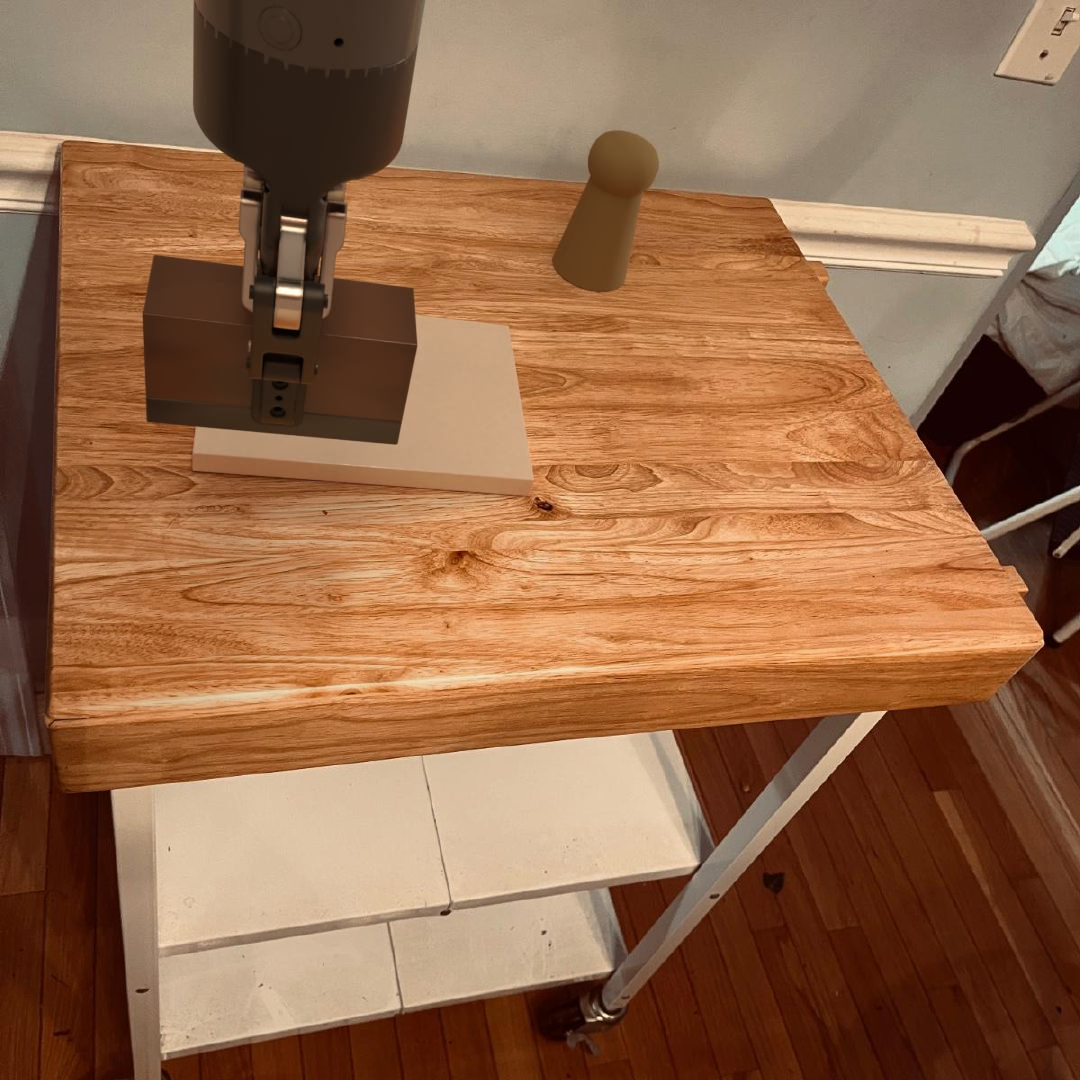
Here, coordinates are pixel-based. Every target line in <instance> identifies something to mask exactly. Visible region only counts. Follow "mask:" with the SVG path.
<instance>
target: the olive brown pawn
mask: <svg viewBox="0 0 1080 1080" xmlns="http://www.w3.org/2000/svg"><path fill="white" fill-rule="evenodd" d="M659 168H660V160H659V155H658V151H657V149H656V148H655V146H654V145H653V144H652V143H651V142H650V141H648V140H647V139H646V138H644V137H643V136H641V135H639V134H637V133H635V132H631V131H626V130H620V129H619V130H617V129H614V130H609V131H605V132H603V133H602V134H600V135H599V136H598V137H597V138H596V139H595V140H594V141H593V143H592V145H591V147H590V149H589V152H588V156H587V169H588V173H589V175H590V176H589V177H588V180H587V182H586V185H585V186H584V188H583V191H582V193H581V195H580V197H579V199H578V202H577V204H576V206H575V208H574V210H573V212H572V214H571V217H570V219H569V221H568V223H567V225H566V228H565V230H564V232H563V233H562V236H561V239H560V241H559V243H558V245H557V247H556V249H555V252H554V254H553V256H552V264H553V265H552V266H553V268H554V269H555V270H556V272H557V274H558V275H560V276H561V277H562V278H563V279H564V280H565V281H567V282H568V283H570V284H572V285H574V286H575V287H578V288H581V289H584V290H586V291H594V292H598V293H599V292H611V291H614V290H617V289H619V288H621V286H623V285H624V283H625V281H626V277H627V272H628V267H629V263H630V259H631V254H632V253H631V252H632V248H633V243H634V238H635V233H636V228H637V223H638V219H639V212H640V209H641V203H642V198H643V193H645V192H646V191H647V190H649V189H650V188H651V186H652V185H653V183H654V182H655V179H656V177H657V174H658V172H659Z"/></svg>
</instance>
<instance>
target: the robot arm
mask: <svg viewBox="0 0 1080 1080" xmlns="http://www.w3.org/2000/svg"><path fill="white" fill-rule="evenodd" d="M425 5H426V0H193V13H192V15H193V18H192V19H193V20H192V21H193V23H192V24H193V25H192V26H193V30H192V31H193V33H192V36H193V38H192V40H193V41H192V42H193V45H192V46H193V47H192V49H193V51H192V60H193V61H192V65H193V66H192V76H193V77H192V109H193V114H194V118H195V120H196V123H197V125H198V127H199V129H200V130H201V132H202V133H203V135H204V136H205V137H206V139H207V140H208V141H209V142H210V143H211V144H212V145H213V146H214V147H215V148H216V149H218V150H219V151H220V152H221V153H222V154H224V155H226V156H227V157H229V158H231V160H233V161H235V162H238V163H240V164H242V165H243V174H242V175H243V177H242V179H243V180H242V186H241V187H240V194H239V195H240V196H239V212H238V213H239V214H238V233H239V235H240V237H241V238H242V239H243V242H244V248H243V265H242V266H243V283H242V303H243V305H244V306H245V307H246V308H247V309H248V310H250V311H251V312H252V334H251V340H250V339H249V344H248V352H251V356H247V362H246V369H250V378H252V379H253V387H252V403H251V418H252V420H253V421H254V422H256V423H258V424H264V425H275V426H286V427H296V426H298V425H300V424H301V423H302V421H303V413H304V404H305V395H306V386H307V384H310V385H312V384H313V377H314V376H317V370H318V363H316V357H317V351H318V344H319V337H320V331H321V324H322V318H325V317H326V316H327V315H328V314H329V313H330V309H331V300H332V290H333V281H334V278H335V270H336V261H337V254H338V253H339V252H340V251H341V250H342V249H343V247H344V245H345V238H346V231H347V230H346V229H347V228H346V227H347V218H348V202H347V201H345V198H346V189H347V183H348V182H351V181H358V180H362V179H365V178H368V177H370V176H373V175H375V174H378V173H379V172H381V171H382V170H384V169H385V168H387V167H388V166H389V165H390V164H391V163H392V162H393V161H394V160H395V158H397V156H398V154H399V152H400V151H401V148H402V146H403V141H404V136H405V129H406V123H407V118H408V110H409V104H410V98H411V93H412V86H413V81H414V73H415V68H416V61H417V55H418V49H419V44H420V43H419V42H420V35H421V29H422V24H423V23H422V22H423V18H424V12H425ZM257 268H262V269H263V270H262V274H265V275H268V276H270V277H268V276H260V275H258V272H257ZM315 275H316V276H319V280H318V282H317V283H315V282H307V281H309V280H312V281H314V276H315ZM276 279H277V281H276ZM303 282H304V284H303Z"/></svg>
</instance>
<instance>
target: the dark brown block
mask: <svg viewBox="0 0 1080 1080" xmlns="http://www.w3.org/2000/svg"><path fill="white" fill-rule="evenodd" d="M151 261H152V262H151V266H150V272H149V277H148V282H147V287H146V292H145V297H144V302H143V303H144V304H143V309H142V313H141V314H142V315H141V316H142V335H143V336H142V339H143V341H142V343H143V366H144V392H145V393H144V395H145V418H146V419H145V421H146V422H147V423H150V424H151V423H152V424H160V425H161V424H162V425H172V426H173V425H174V426H183V427H184V426H185V427H194V428H196V427H205V428H216V429H227V430H238V431H249V432H260V433H271V434H282V435H293V436H304V437H315V438H326V439H337V440H348V441H359V442H370V443H381V444H392V445H397V444H398V440H399V435H400V430H401V425H402V420H403V415H404V410H405V405H406V401H407V396H408V391H409V386H410V381H411V376H412V371H413V366H414V361H415V356H416V351H417V346H418V344H417V329H416V315H417V314H416V304H415V303H416V301H415V290H414V288H413V287H407V286H400V285H394V284H393V285H392V284H385V283H378V282H369V281H362V280H355V279H347V278H346V279H345V278H338V277H334V281H333V290H332V300H331V309H330V313H329V314H328V315H327V316H326V317H325V318H322V324H321V331H320V337H319V344H318V351H317V357H316V363H318V370H317V376H314V377H313V384H312V385H310V384H307V386H306V395H305V404H304V413H303V421H302V423H301V424H300V425H298V426H296V427H286V426H275V425H264V424H258V423H256V422H254V421H253V420H252V418H251V403H252V387H253V379H252V378H250V369H246V362H247V356H251V352H248V344H249V339H250V340H251V334H252V312H251V311H250V310H248V309H247V308H246V307H245V306H244V305H243V303H242V283H243V265H239V264H238V265H237V264H230V263H223V262H215V261H208V260H207V261H206V260H199V259H191V258H184V257H175V256H169V255H162V254H161V255H159V254H154V255H153V256H152V260H151ZM262 270H263V269H262V268H257V272H258V275H260V276H268V275H265V274H262ZM268 277H270V276H268ZM318 280H319V275H318V276H316V275H315V276H314V281H312V280H309V281H307V282H315V283H317V282H318ZM276 281H277V279H276ZM303 284H304V282H303Z"/></svg>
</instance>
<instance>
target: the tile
mask: <svg viewBox="0 0 1080 1080" xmlns="http://www.w3.org/2000/svg"><path fill="white" fill-rule="evenodd" d="M415 315H416V329H417V344H418V346H417V351H416V356H415V361H414V366H413V371H412V376H411V381H410V386H409V391H408V396H407V401H406V405H405V410H404V415H403V420H402V425H401V430H400V435H399V440H398V444H397V445H392V444H381V443H370V442H359V441H348V440H337V439H326V438H315V437H304V436H293V435H282V434H271V433H260V432H249V431H238V430H227V429H216V428H205V427H194V428H195V429H194V436H193V444H192V453H191V455H192V456H191V457H192V458H191V459H192V460H191V461H192V462H191V463H192V471H193V472H202V473H203V472H204V473H215V474H216V473H217V474H228V475H229V474H230V475H243V476H244V475H245V476H255V477H267V478H268V477H269V478H270V477H271V478H283V479H298V480H310V481H324V482H335V483H349V484H364V485H376V486H389V487H404V488H414V489H415V488H416V489H430V490H443V491H454V492H455V491H457V492H466V493H467V492H470V493H482V494H495V495H496V494H497V495H510V496H521V497H529V496H530V493H531V490H532V487H533V485H534V481H535V478H534V471H533V466H532V461H531V460H532V459H531V454H530V447H529V441H528V433H527V430H526V423H525V422H526V421H525V417H524V411H523V410H524V409H523V405H522V404H523V403H522V397H521V392H520V386H519V380H518V374H517V367H516V362H515V355H514V349H513V344H512V336H511V331H510V330H511V329H510V326H509V325H507V324H497V323H490V322H481V321H473V320H464V319H456V318H447V317H439V316H429V315H421V314H415Z"/></svg>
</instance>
